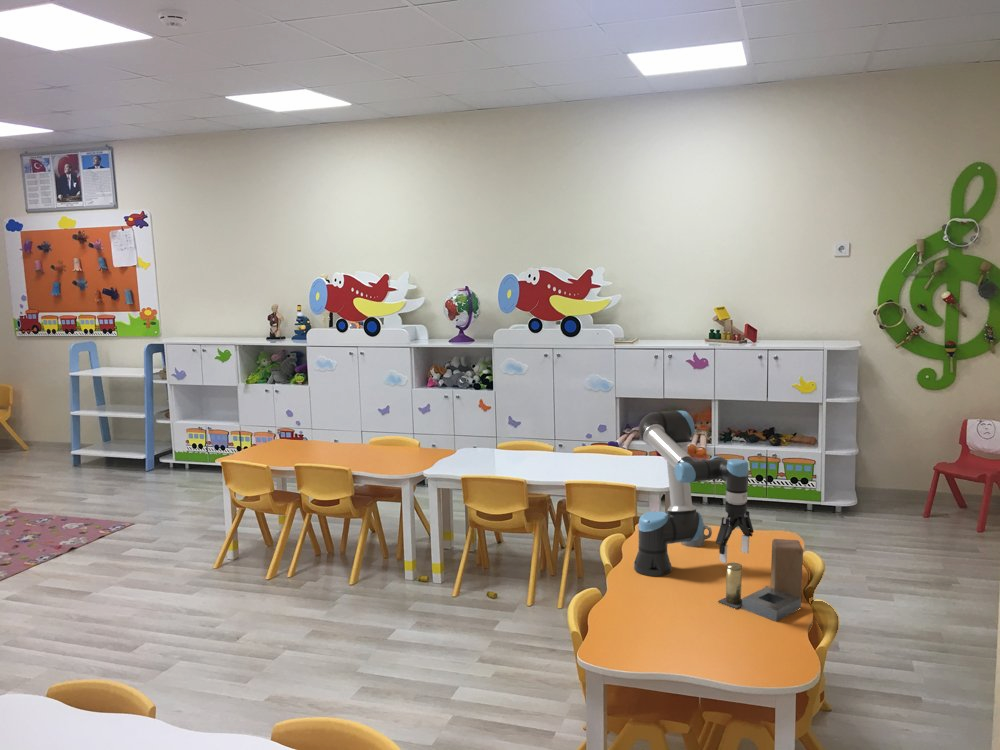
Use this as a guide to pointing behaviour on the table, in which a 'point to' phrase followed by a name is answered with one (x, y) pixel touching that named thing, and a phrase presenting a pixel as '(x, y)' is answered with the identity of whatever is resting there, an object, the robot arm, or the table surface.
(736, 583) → the brass cylinder
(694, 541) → the coffee mug
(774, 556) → the wooden block
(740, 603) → the pad
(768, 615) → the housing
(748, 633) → the table surface
